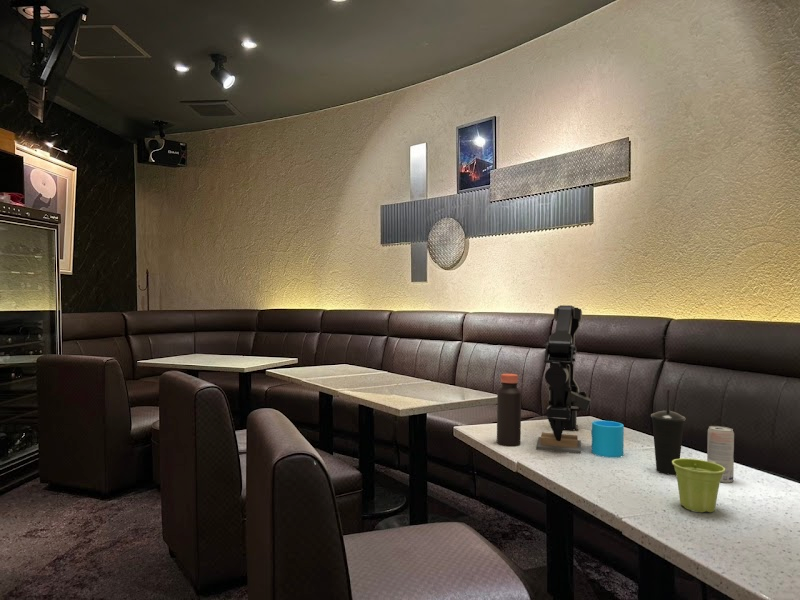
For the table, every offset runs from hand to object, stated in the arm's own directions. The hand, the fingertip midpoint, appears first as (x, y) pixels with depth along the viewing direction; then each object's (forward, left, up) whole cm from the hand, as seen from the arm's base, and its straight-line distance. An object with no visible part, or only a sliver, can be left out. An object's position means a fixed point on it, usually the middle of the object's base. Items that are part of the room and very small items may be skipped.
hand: (558, 436), depth 155 cm
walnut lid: (0, 0, -2) cm, 2 cm away
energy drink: (+17, +37, -3) cm, 41 cm away
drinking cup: (+15, +26, -3) cm, 30 cm away
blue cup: (+1, +12, -3) cm, 12 cm away
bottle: (+2, -14, -3) cm, 14 cm away
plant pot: (+39, +28, -3) cm, 48 cm away
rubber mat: (0, 0, -3) cm, 3 cm away
